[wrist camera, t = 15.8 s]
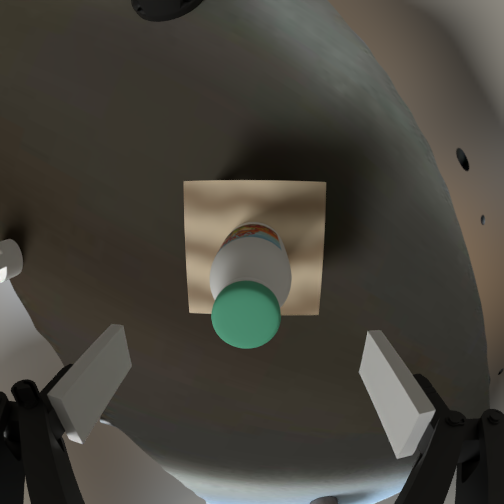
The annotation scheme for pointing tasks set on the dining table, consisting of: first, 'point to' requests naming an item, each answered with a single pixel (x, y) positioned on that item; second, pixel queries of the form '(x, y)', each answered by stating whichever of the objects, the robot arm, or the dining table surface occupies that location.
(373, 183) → the dining table surface
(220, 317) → the milk bottle
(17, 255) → the cylinder with rectangular tab
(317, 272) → the oak footstool
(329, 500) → the pillar candle
